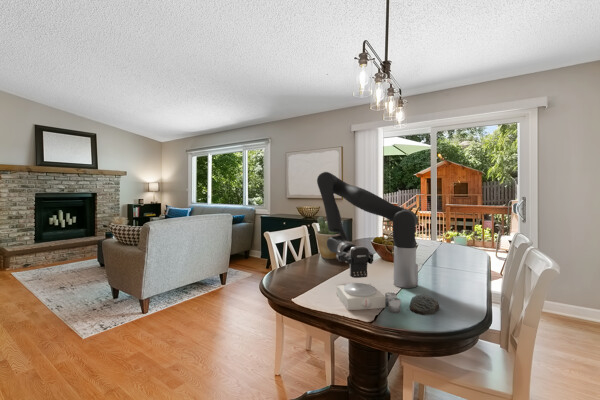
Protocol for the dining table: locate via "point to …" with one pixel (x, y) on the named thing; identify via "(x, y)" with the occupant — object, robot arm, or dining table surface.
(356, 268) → the battery
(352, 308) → the scale
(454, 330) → the dining table surface
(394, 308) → the spacer
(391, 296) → the spacer
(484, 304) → the dining table surface
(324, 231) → the potted plant
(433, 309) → the fossil
